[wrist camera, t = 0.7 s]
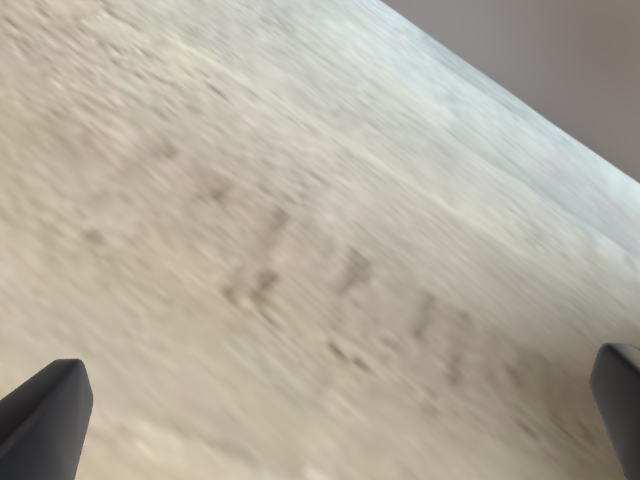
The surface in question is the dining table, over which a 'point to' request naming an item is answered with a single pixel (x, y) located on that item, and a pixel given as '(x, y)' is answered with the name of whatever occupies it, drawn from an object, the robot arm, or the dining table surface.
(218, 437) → the dining table surface
